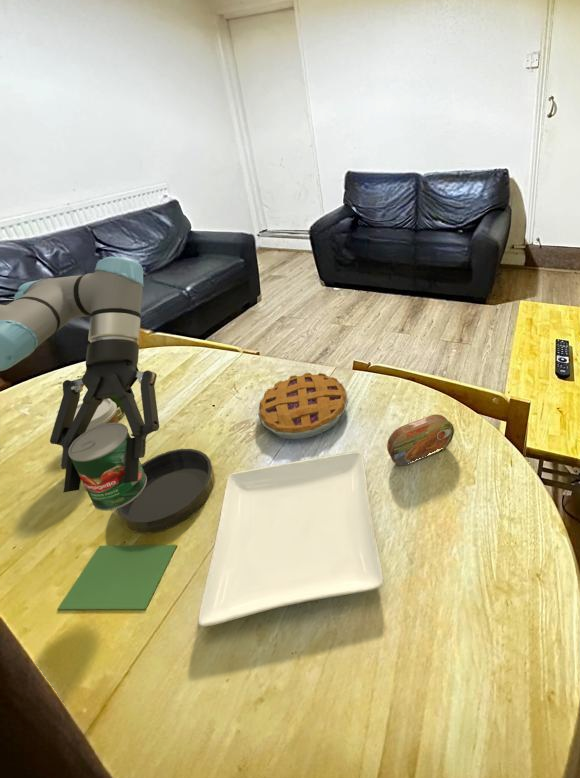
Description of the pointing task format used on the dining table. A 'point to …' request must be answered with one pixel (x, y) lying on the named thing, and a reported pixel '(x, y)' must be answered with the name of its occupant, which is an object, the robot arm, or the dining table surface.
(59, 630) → the dining table surface
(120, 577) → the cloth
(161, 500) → the pan
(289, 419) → the pie
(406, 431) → the tin
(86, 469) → the canned tomato
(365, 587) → the square plate
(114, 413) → the disposable coffee cup
